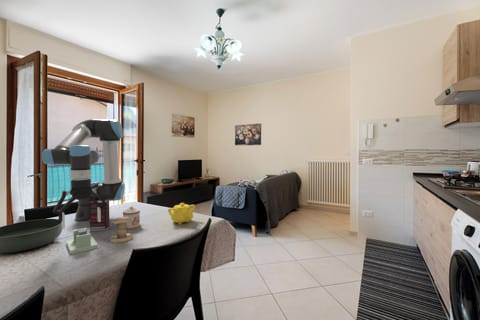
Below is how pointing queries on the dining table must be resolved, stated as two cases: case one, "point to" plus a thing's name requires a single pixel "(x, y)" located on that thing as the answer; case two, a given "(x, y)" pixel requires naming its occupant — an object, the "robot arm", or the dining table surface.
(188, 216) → the teapot
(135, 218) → the teacup with lid
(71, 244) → the notch board
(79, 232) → the lead tab
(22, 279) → the dining table surface
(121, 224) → the bobbin
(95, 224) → the supplement box
